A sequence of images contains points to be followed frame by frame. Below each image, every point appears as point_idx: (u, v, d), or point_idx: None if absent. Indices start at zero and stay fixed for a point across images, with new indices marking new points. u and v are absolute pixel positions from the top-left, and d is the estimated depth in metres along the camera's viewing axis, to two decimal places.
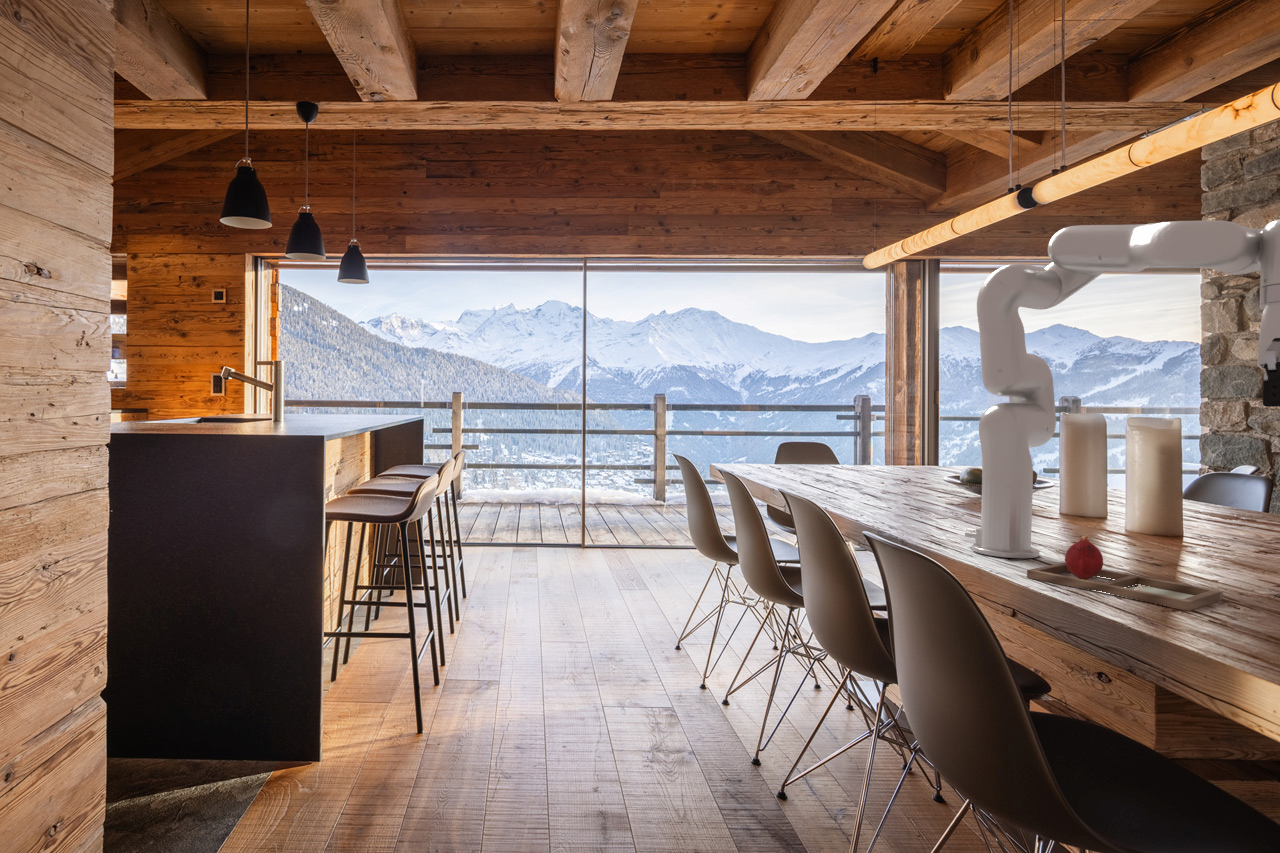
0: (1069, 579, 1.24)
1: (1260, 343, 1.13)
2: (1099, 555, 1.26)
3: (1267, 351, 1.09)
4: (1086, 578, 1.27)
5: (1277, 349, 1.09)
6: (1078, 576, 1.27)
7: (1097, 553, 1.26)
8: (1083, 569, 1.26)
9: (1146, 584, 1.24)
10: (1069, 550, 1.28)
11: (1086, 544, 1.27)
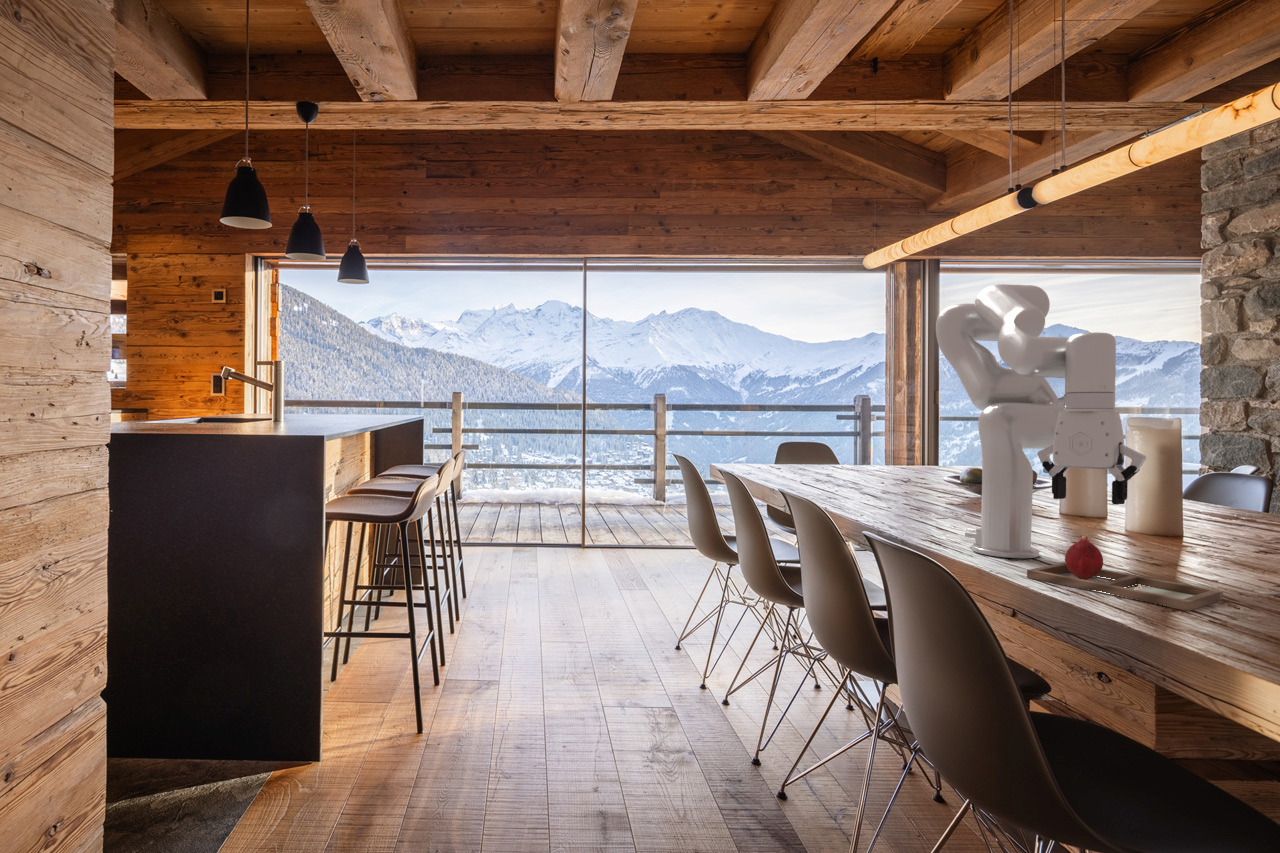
0: (1069, 579, 1.24)
1: (1113, 446, 1.22)
2: (1099, 555, 1.26)
3: (1143, 456, 1.20)
4: (1086, 578, 1.27)
5: None
6: (1078, 576, 1.27)
7: (1097, 553, 1.26)
8: (1083, 569, 1.26)
9: (1146, 584, 1.24)
10: (1069, 550, 1.28)
11: (1086, 544, 1.27)
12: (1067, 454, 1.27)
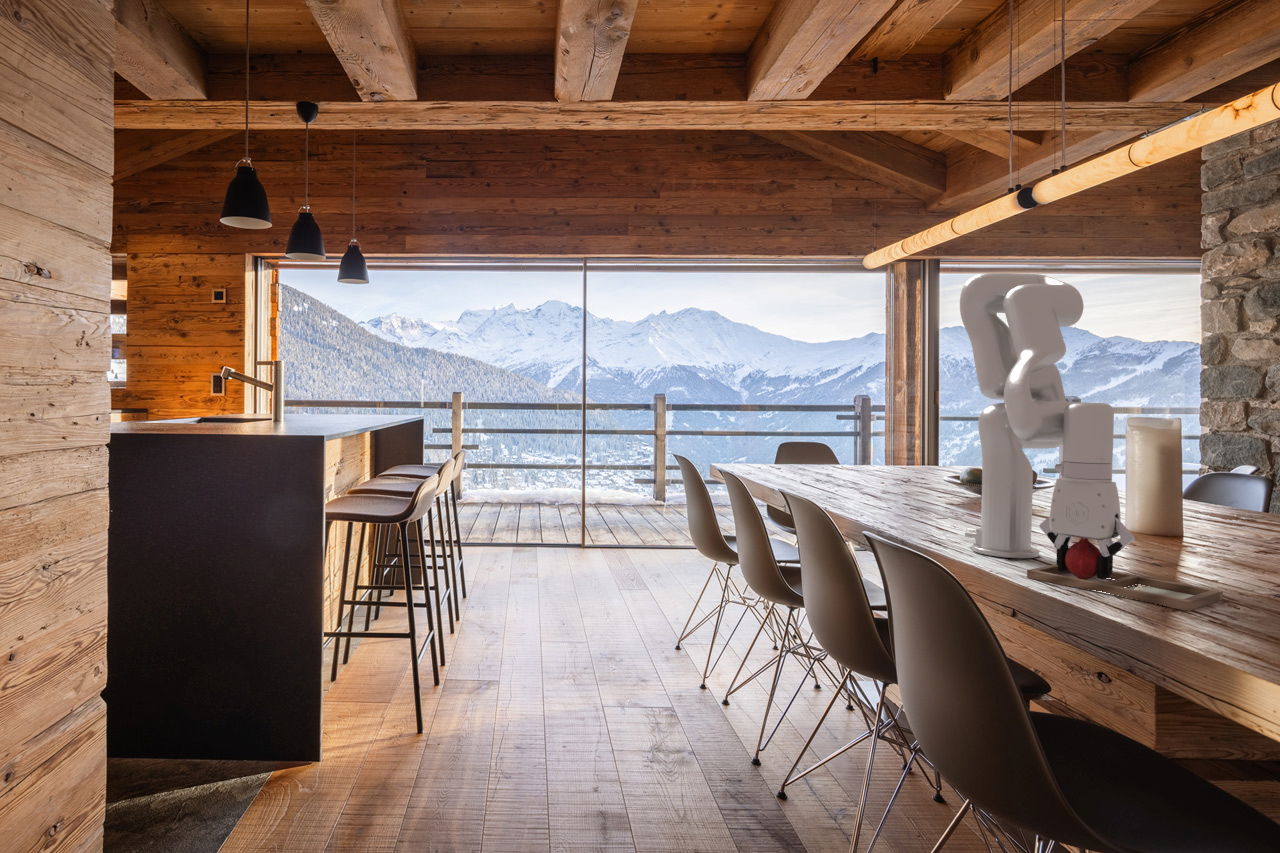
0: (1069, 579, 1.24)
1: (1109, 518, 1.22)
2: (1100, 555, 1.26)
3: (1132, 538, 1.21)
4: (1086, 578, 1.27)
5: None
6: (1078, 576, 1.27)
7: (1097, 553, 1.26)
8: (1083, 569, 1.26)
9: (1146, 584, 1.24)
10: (1069, 550, 1.28)
11: (1086, 544, 1.27)
12: (1063, 522, 1.28)
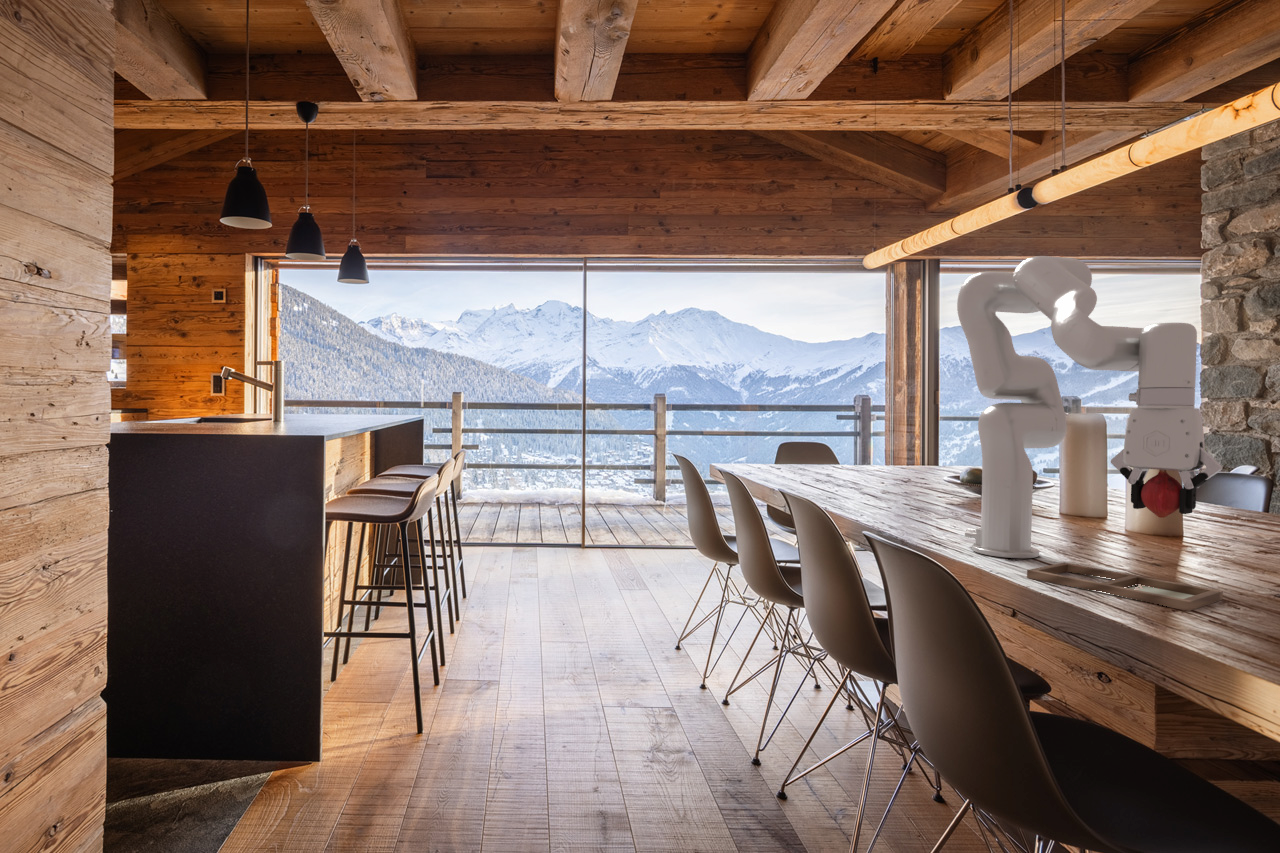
0: (1069, 579, 1.24)
1: (1194, 446, 1.12)
2: (1181, 488, 1.16)
3: (1220, 467, 1.11)
4: (1166, 514, 1.17)
5: None
6: (1157, 512, 1.17)
7: (1178, 486, 1.15)
8: (1163, 503, 1.15)
9: (1146, 584, 1.24)
10: (1146, 484, 1.18)
11: (1165, 477, 1.16)
12: (1140, 454, 1.18)
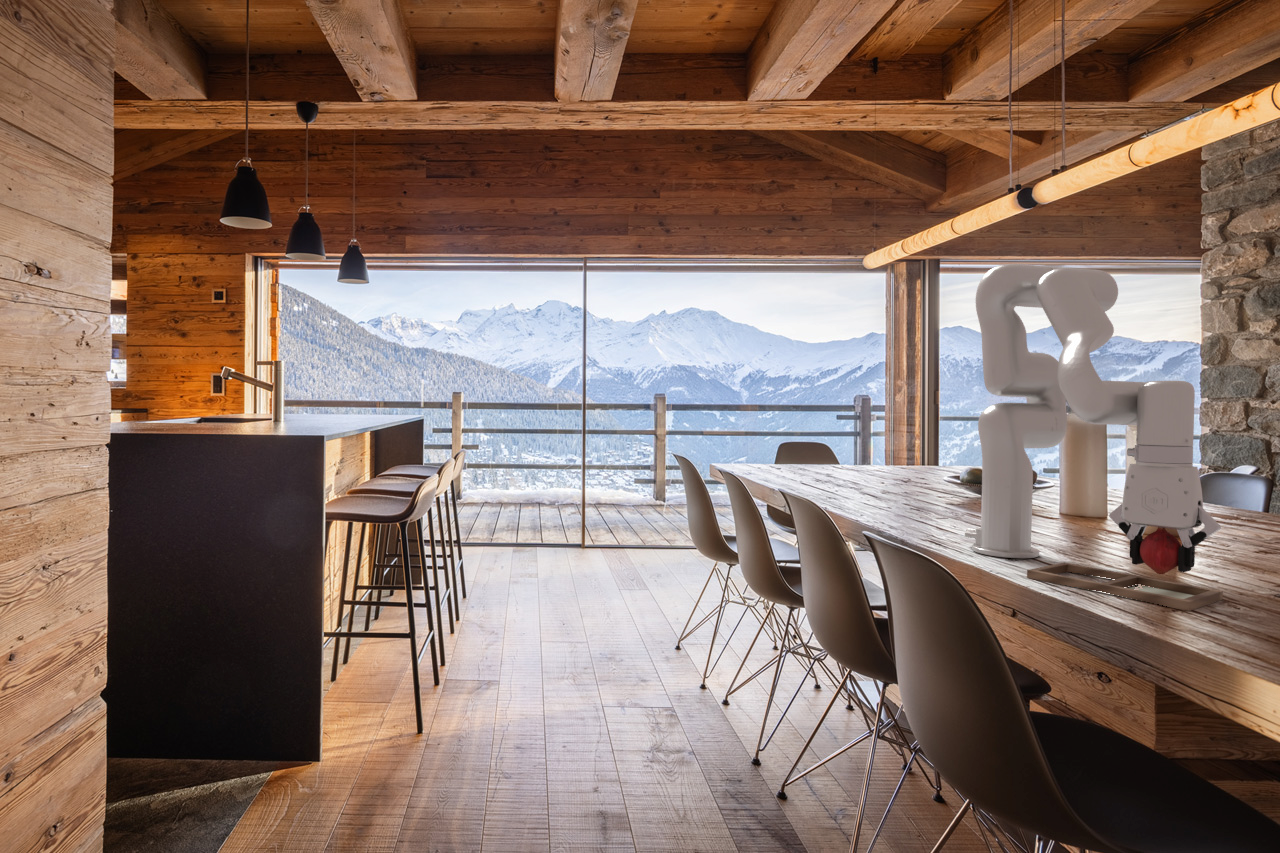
0: (1069, 579, 1.24)
1: (1192, 505, 1.12)
2: (1180, 546, 1.16)
3: (1218, 527, 1.11)
4: (1164, 571, 1.17)
5: None
6: (1155, 569, 1.17)
7: (1177, 544, 1.16)
8: (1162, 561, 1.16)
9: (1146, 584, 1.24)
10: (1144, 541, 1.18)
11: (1164, 534, 1.17)
12: (1139, 511, 1.18)
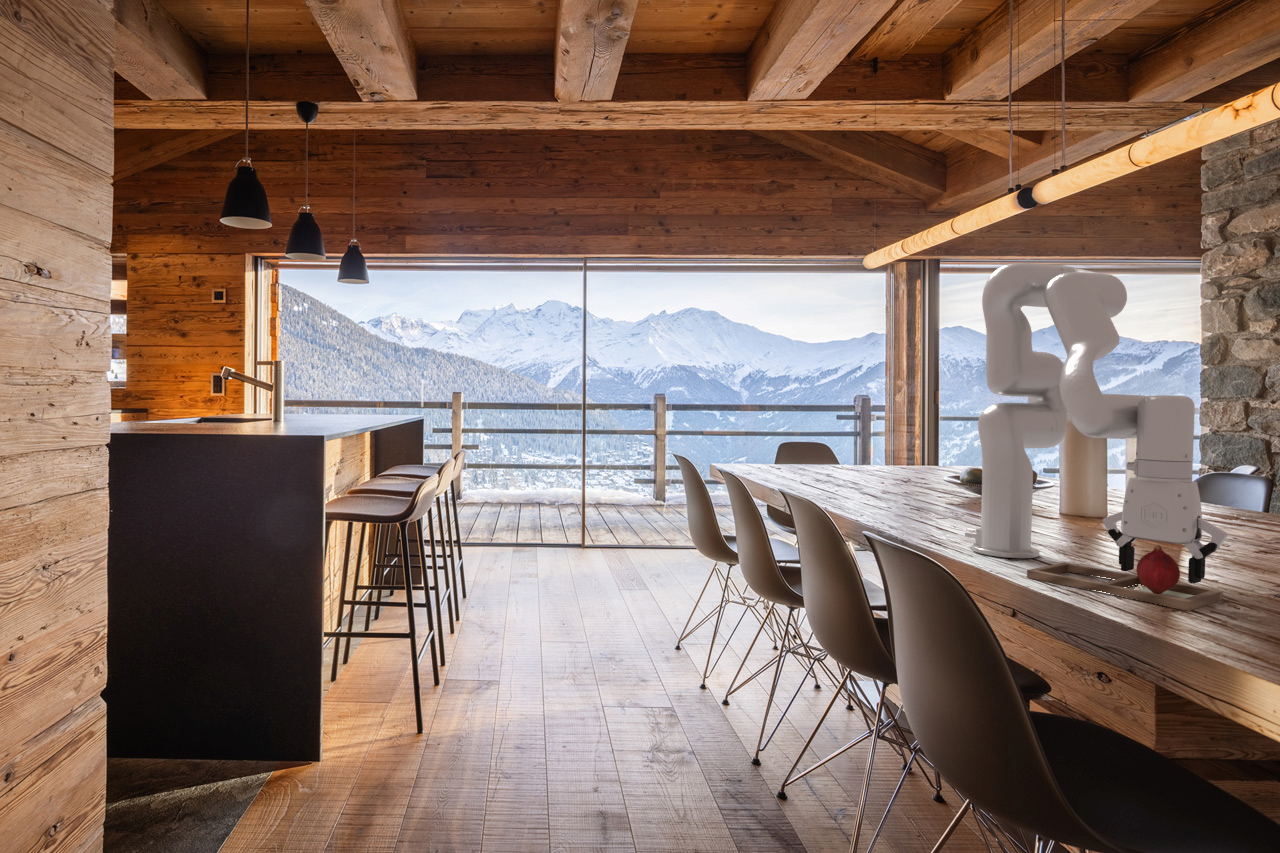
0: (1069, 579, 1.24)
1: (1191, 521, 1.13)
2: (1176, 566, 1.16)
3: (1225, 534, 1.11)
4: (1161, 591, 1.17)
5: None
6: (1152, 589, 1.18)
7: (1173, 564, 1.16)
8: (1158, 581, 1.16)
9: None
10: (1141, 561, 1.19)
11: (1161, 554, 1.17)
12: (1138, 525, 1.18)
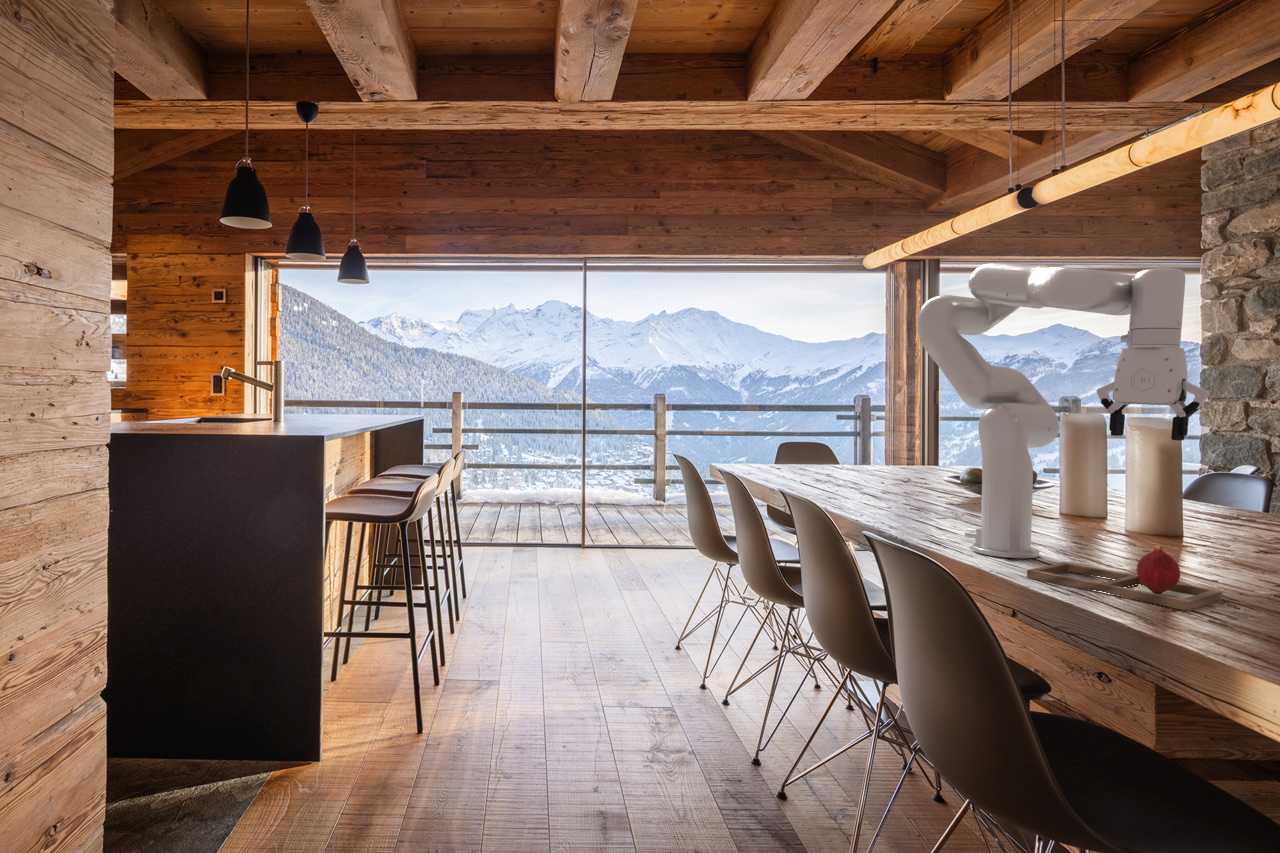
0: (1069, 579, 1.24)
1: (1176, 382, 1.22)
2: (1176, 567, 1.16)
3: (1206, 392, 1.20)
4: (1161, 591, 1.17)
5: None
6: (1152, 589, 1.18)
7: (1174, 565, 1.16)
8: (1158, 581, 1.16)
9: None
10: (1142, 561, 1.19)
11: (1161, 554, 1.17)
12: (1128, 390, 1.28)
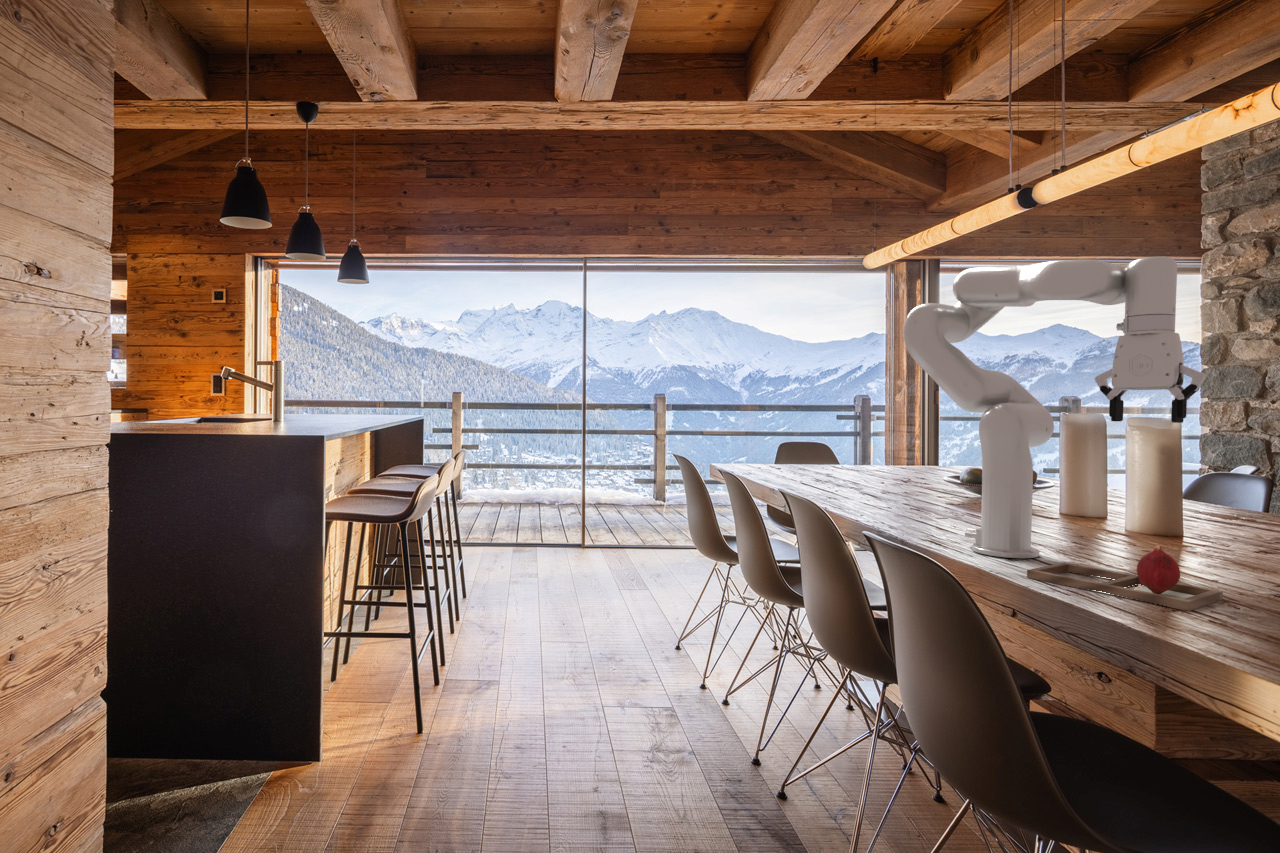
0: (1069, 579, 1.24)
1: (1174, 366, 1.26)
2: (1176, 567, 1.16)
3: (1203, 374, 1.24)
4: (1161, 591, 1.17)
5: None
6: (1152, 589, 1.18)
7: (1174, 565, 1.16)
8: (1158, 581, 1.16)
9: None
10: (1142, 561, 1.19)
11: (1161, 554, 1.17)
12: (1126, 376, 1.31)
